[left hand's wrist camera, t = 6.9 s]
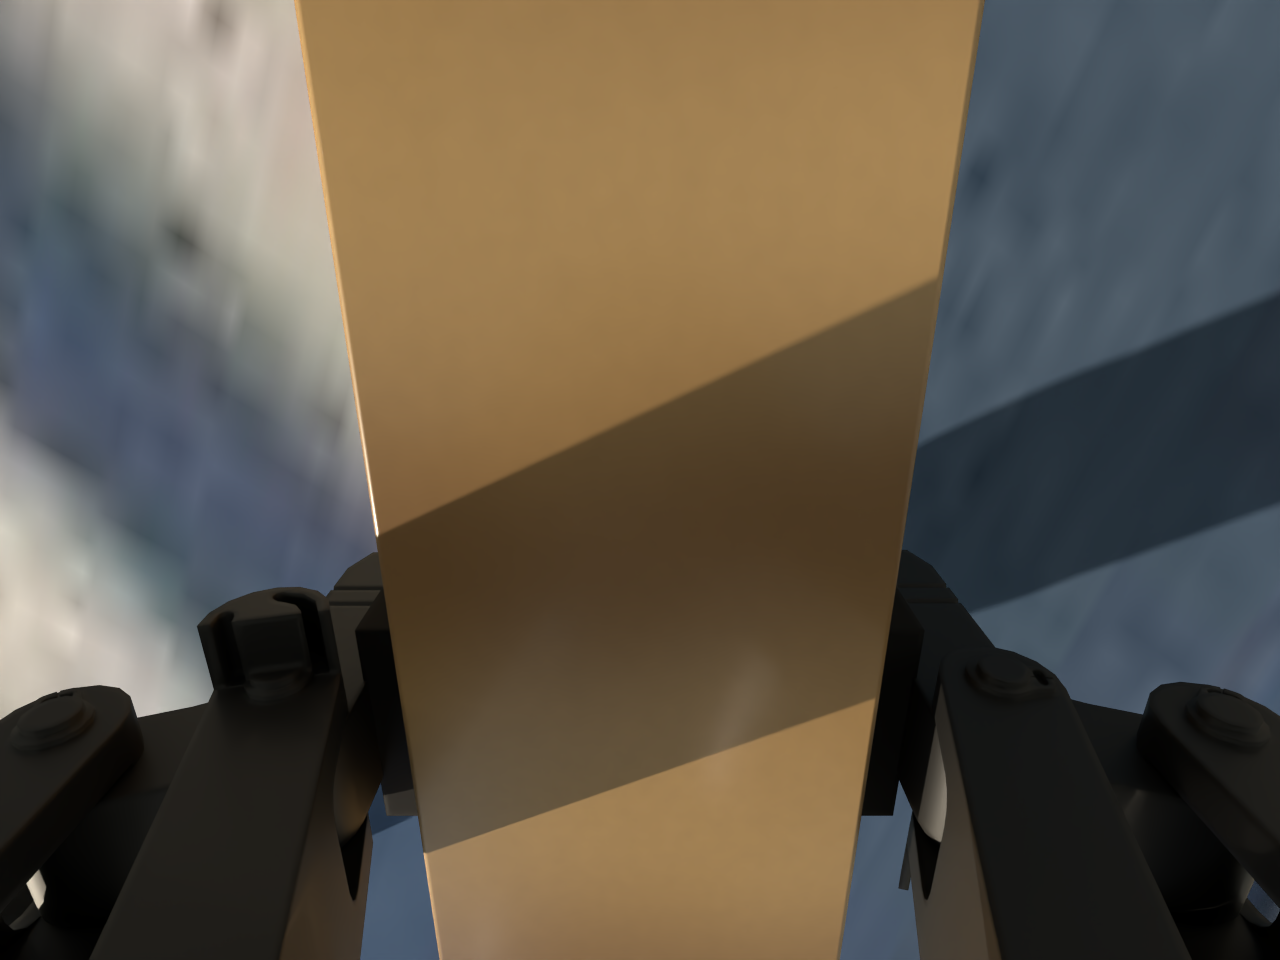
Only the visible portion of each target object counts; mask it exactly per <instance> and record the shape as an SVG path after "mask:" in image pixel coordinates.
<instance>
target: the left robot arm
mask: <svg viewBox="0 0 1280 960" xmlns="http://www.w3.org/2000/svg"><path fill="white" fill-rule="evenodd" d="M197 628H198V632H199V636H200V639H201V643H202V647H203V651H204V654H205V658H206V662H207V665H208V669H209V673H210V677H211V680H212V684H213V688H214V691H213V693H212V695H211V698H210V700H209V702H208V703H205V704H201V705H197V706H194V707H189V708H184V709H179V710H174V711H169V712H164V713H159V714H154V715H149V716H144V717H139V718H137V716H136V712H135V709H134V706H133V703H132V700H131V697H130V696H129V695H128V694H127V693H125V692H124V691H123V690H121V689H120V688H116V687H109V686H102V685H97V686H88V687H80V688H71V689H66V690H62V691H60V692H59V693H57V692H55V693H52V694H49V695H46V696H43V697H41V698H39V699H38V700H36V701H34V702H32V703H29V704H27V705H25V706H23V707H21V708H19V709H16V710H15V711H13V712H12V713H10V714H9V715H7V716H6V717H4V718H3V719H1V720H0V960H360V955H361V946H362V937H363V928H364V919H365V910H366V901H367V892H368V883H369V874H370V865H371V856H372V847H373V839H372V833H371V827H370V821H369V816H368V811H369V808H370V806H371V804H372V801H373V799H374V797H375V795H376V792H377V790H378V788H379V785H380V783H381V785H382V791H383V797H384V803H385V809H386V814H387V816H418V813H417V806H416V800H415V793H414V786H413V780H412V773H411V767H410V760H409V753H408V747H407V740H406V734H405V727H404V720H403V714H402V707H401V701H400V694H399V688H398V681H397V674H396V668H395V661H394V655H393V648H392V641H391V635H390V628H389V622H388V615H387V608H386V602H385V595H384V589H383V582H382V576H381V569H380V562H379V556H378V552H373V553H371V554H370V555H368V556H367V557H365V558H363V559H362V560H360V561H359V562H357V563H355V564H354V565H352V566H351V567H349V568H348V569H347V570H346V571H345V573H344V574H343V575H342V577H341V578H340V579H339V581H338V582H337V583H336V584H335V586H334V590H331V591H330V592H329V594H328V595H327V596H326V597H325V596H324V595H323V594H321V593H320V592H319V591H316V590H311V589H307V588H302V587H280V588H273V589H268V590H263V591H258V592H253V593H250V594H247V595H244V596H242V597H239V598H236V599H234V600H231V601H228V602H227V603H225V604H223V605H222V606H220V607H218V608H217V609H215V610H213V611H212V612H210V613H209V614H208V615H207V616H206V617H205V618H204V619H203V620H202V621H201V622H200V623H199V624H198V626H197ZM899 781H900V783H901V785H902V787H903V790H904V792H905V794H906V796H907V799H908V801H909V803H910V806H911V808H912V816H911V821H910V827H909V832H908V837H907V843H906V848H905V854H904V859H903V864H902V870H901V876H900V882H899V889H904V890H908V889H909V883H910V878H911V881H912V890H913V899H914V908H915V917H916V926H917V935H918V944H919V953H920V960H1280V912H1279V914H1278V916H1277V918H1276V920H1275V921H1274V922H1273V923H1271V922H1269V921H1268V920H1267V919H1266V918H1265V917H1264V916H1263V915H1262V914H1261V913H1260V912H1259V911H1258V910H1257V909H1256V908H1255V907H1254V905H1253V904H1252V903H1251V902H1250V901H1249V900H1248V898H1247V896H1248V893H1249V891H1250V889H1251V887H1252V884H1253V882H1254V880H1255V881H1256V882H1257V883H1258V884H1259V886H1260V887H1261V888H1262V889H1263V890H1264V891H1265V892H1266V893H1267V895H1268V896H1269V897H1270V898H1271V899H1272V900H1273V901H1274V902H1275V904H1276V905H1277V906H1278V907H1279V908H1280V716H1279V715H1277V714H1276V713H1274V712H1273V711H1271V710H1270V709H1268V708H1267V707H1265V706H1263V705H1261V704H1259V703H1256V702H1254V701H1252V700H1250V699H1248V698H1245V697H1244V696H1242V695H1241V694H1239V693H1236V692H1233V691H1230V690H1227V689H1220V687H1216V686H1211V685H1205V684H1195V683H1186V682H1177V683H1169V684H1162V685H1160V686H1159V687H1157V688H1156V689H1155V690H1153V691H1152V692H1151V693H1150V695H1149V698H1148V701H1147V704H1146V707H1145V711H1144V714H1143V715H1142V714H1137V713H1132V712H1127V711H1122V710H1117V709H1112V708H1107V707H1102V706H1097V705H1092V704H1087V703H1083V702H1079V701H1076V700H1072V699H1071V698H1070V696H1069V694H1068V692H1067V690H1066V688H1065V687H1064V686H1063V684H1062V683H1061V682H1060V680H1059V679H1058V678H1057V677H1056V675H1055V674H1053V673H1052V672H1051V671H1049V670H1048V669H1046V668H1045V667H1043V666H1042V665H1041V664H1039V663H1038V662H1036V661H1034V660H1031V659H1029V658H1027V657H1024V656H1022V655H1020V654H1017V653H1015V652H1012V651H1008V650H1003V649H999V648H995V646H994V645H993V644H992V643H991V641H990V640H989V639H988V637H987V636H986V635H985V634H984V632H983V631H982V630H981V628H980V627H979V626H978V625H977V623H976V622H975V621H974V619H973V618H972V617H971V616H970V614H969V613H968V612H967V610H966V609H965V608H964V607H963V605H962V604H961V603H958V599H957V597H956V596H955V595H954V594H953V592H952V591H951V590H950V588H946V583H945V582H944V581H943V579H942V578H941V577H940V576H939V574H938V573H937V572H936V570H935V569H934V568H933V567H932V566H931V565H930V564H928V563H927V562H925V561H923V560H922V559H920V558H919V557H917V556H915V555H914V554H912V553H911V552H909V551H907V550H901V557H900V564H899V570H898V577H897V583H896V590H895V597H894V603H893V610H892V616H891V623H890V630H889V636H888V643H887V649H886V656H885V663H884V669H883V676H882V682H881V689H880V696H879V702H878V709H877V715H876V722H875V729H874V735H873V742H872V749H871V755H870V762H869V768H868V775H867V782H866V788H865V795H864V801H863V808H862V815H861V816H893V812H894V806H895V800H896V794H897V788H898V783H899ZM26 884H27V886H28V888H29V890H30V893H31V895H32V897H33V899H34V901H33V902H32V903H31V904H30V906H29V907H28V908H27V909H26V910H25V912H24V913H23V914H22V915H21V916H20V917H19V918H17V919H16V920H15V921H14V922H13V923H12V924H10V925H9V926H8V925H7V924H6V923H5V922H4V920H3V918H2V915H1V912H2V911H3V910H4V909H5V907H6V906H7V905H8V904H9V903H10V902H11V901H12V899H13V898H14V897H15V896H16V895H17V894H18V893H19V891H20V890H21V889H22V888H23V887H24V886H25V885H26Z"/></svg>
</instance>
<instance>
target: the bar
mask: <svg viewBox="0 0 1280 960" xmlns="http://www.w3.org/2000/svg"><path fill="white" fill-rule="evenodd" d="M294 2H295V9H296V16H297V22H298V29H299V35H300V42H301V49H302V55H303V62H304V68H305V75H306V81H307V88H308V95H309V101H310V108H311V114H312V121H313V128H314V134H315V141H316V147H317V154H318V161H319V167H320V174H321V180H322V187H323V193H324V200H325V207H326V213H327V220H328V226H329V233H330V240H331V246H332V253H333V259H334V266H335V273H336V279H337V286H338V292H339V299H340V305H341V312H342V319H343V325H344V332H345V338H346V345H347V352H348V358H349V365H350V371H351V378H352V384H353V391H354V398H355V404H356V411H357V417H358V424H359V431H360V437H361V444H362V450H363V457H364V464H365V470H366V477H367V483H368V490H369V496H370V503H371V510H372V516H373V523H374V529H375V536H376V543H377V549H378V556H379V562H380V569H381V576H382V582H383V589H384V595H385V602H386V608H387V615H388V622H389V628H390V635H391V641H392V648H393V655H394V661H395V668H396V674H397V681H398V688H399V694H400V701H401V707H402V714H403V720H404V727H405V734H406V740H407V747H408V753H409V760H410V767H411V773H412V780H413V786H414V793H415V800H416V806H417V813H418V819H419V826H420V832H421V839H422V846H423V852H424V859H425V865H426V872H427V879H428V885H429V892H430V898H431V905H432V912H433V918H434V925H435V931H436V938H437V944H438V951H439V958H440V960H840V953H841V947H842V940H843V933H844V927H845V920H846V914H847V907H848V900H849V894H850V887H851V881H852V874H853V867H854V861H855V854H856V848H857V841H858V834H859V828H860V821H861V815H862V808H863V801H864V795H865V788H866V782H867V775H868V768H869V762H870V755H871V749H872V742H873V735H874V729H875V722H876V715H877V709H878V702H879V696H880V689H881V682H882V676H883V669H884V663H885V656H886V649H887V643H888V636H889V630H890V623H891V616H892V610H893V603H894V597H895V590H896V583H897V577H898V570H899V564H900V557H901V550H902V544H903V537H904V531H905V524H906V517H907V511H908V504H909V498H910V491H911V484H912V478H913V471H914V465H915V458H916V451H917V445H918V438H919V431H920V425H921V418H922V412H923V405H924V398H925V392H926V385H927V379H928V372H929V365H930V359H931V352H932V346H933V339H934V332H935V326H936V319H937V313H938V306H939V299H940V293H941V286H942V280H943V273H944V266H945V260H946V253H947V247H948V240H949V233H950V227H951V220H952V214H953V207H954V200H955V194H956V187H957V180H958V174H959V167H960V161H961V154H962V147H963V141H964V134H965V128H966V121H967V114H968V108H969V101H970V95H971V88H972V81H973V75H974V68H975V62H976V55H977V48H978V42H979V35H980V29H981V22H982V15H983V9H984V2H985V0H294Z"/></svg>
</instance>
